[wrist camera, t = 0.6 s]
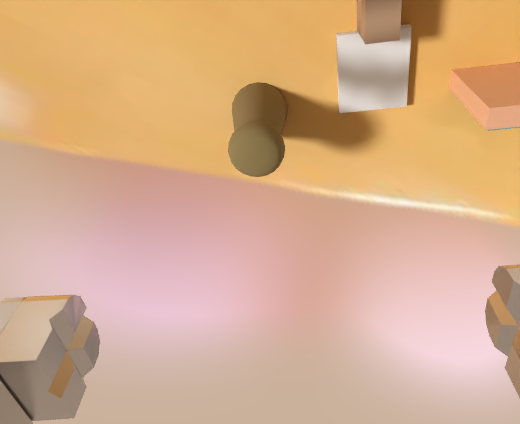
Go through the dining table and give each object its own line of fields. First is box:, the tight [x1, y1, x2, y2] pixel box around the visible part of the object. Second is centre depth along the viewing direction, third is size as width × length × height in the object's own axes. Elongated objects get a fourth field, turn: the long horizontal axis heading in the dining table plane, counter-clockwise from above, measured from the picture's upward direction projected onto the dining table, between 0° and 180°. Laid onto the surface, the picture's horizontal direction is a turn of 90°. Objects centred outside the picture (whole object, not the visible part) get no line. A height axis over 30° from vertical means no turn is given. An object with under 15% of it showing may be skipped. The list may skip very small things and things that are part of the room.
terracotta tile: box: [449, 62, 520, 131], centre depth 42 cm, size 2×8×10 cm, turn 97°
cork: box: [228, 83, 287, 177], centre depth 44 cm, size 6×6×11 cm
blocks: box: [336, 0, 412, 113], centre depth 41 cm, size 18×7×5 cm, turn 7°
